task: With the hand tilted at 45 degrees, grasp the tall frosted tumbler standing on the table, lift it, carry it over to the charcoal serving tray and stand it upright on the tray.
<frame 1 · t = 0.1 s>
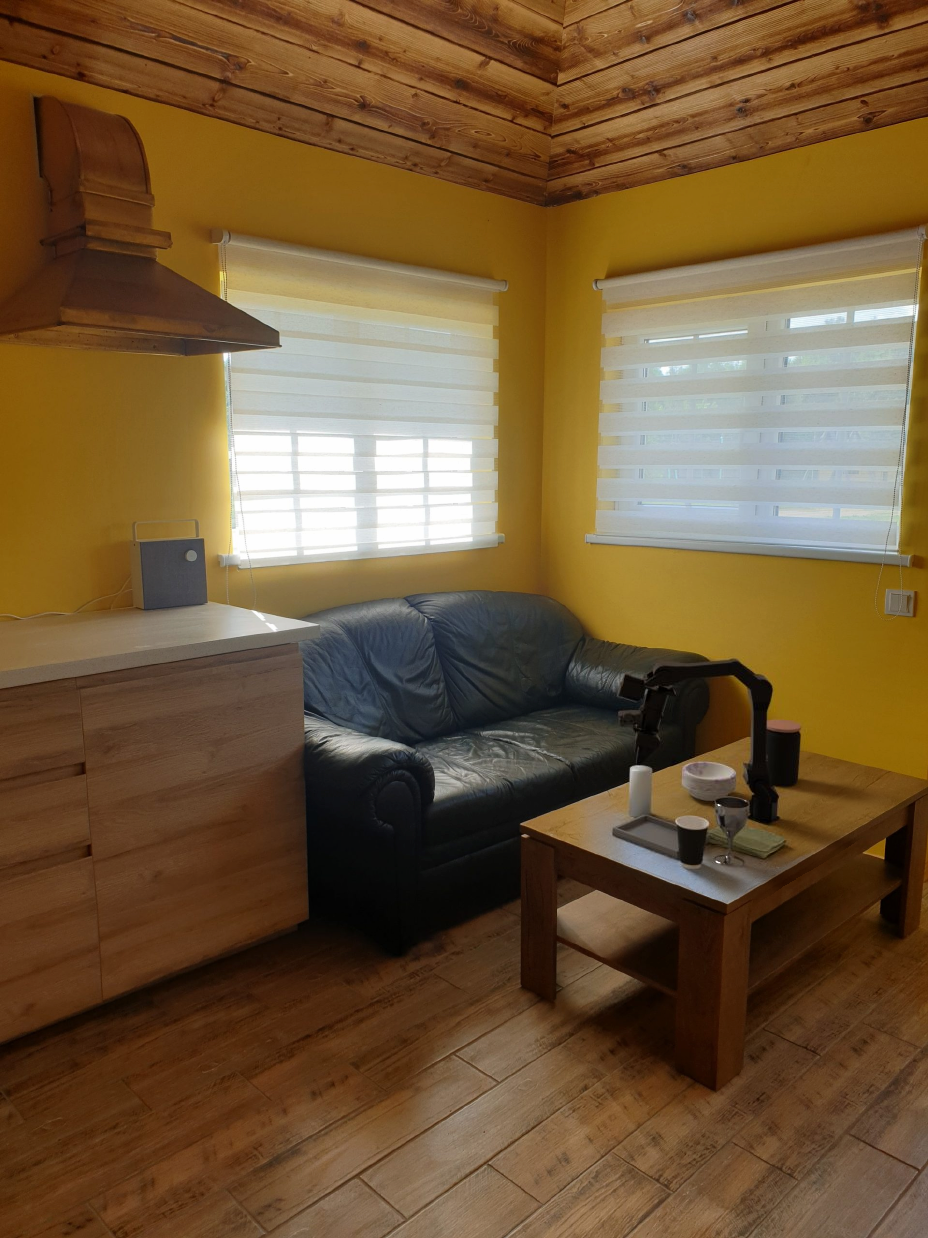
hand: (637, 759, 253), 15 cm above the table, tool pointing down, fingers open, 9 cm apart
paper bowls: (708, 796, 269), on the table
tumbler: (639, 814, 255), on the table
tray: (659, 839, 238), on the table
washcloth: (744, 845, 236), on the table
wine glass: (729, 861, 226), on the table
dixie cup: (690, 865, 224), on the table
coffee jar: (779, 782, 280), on the table
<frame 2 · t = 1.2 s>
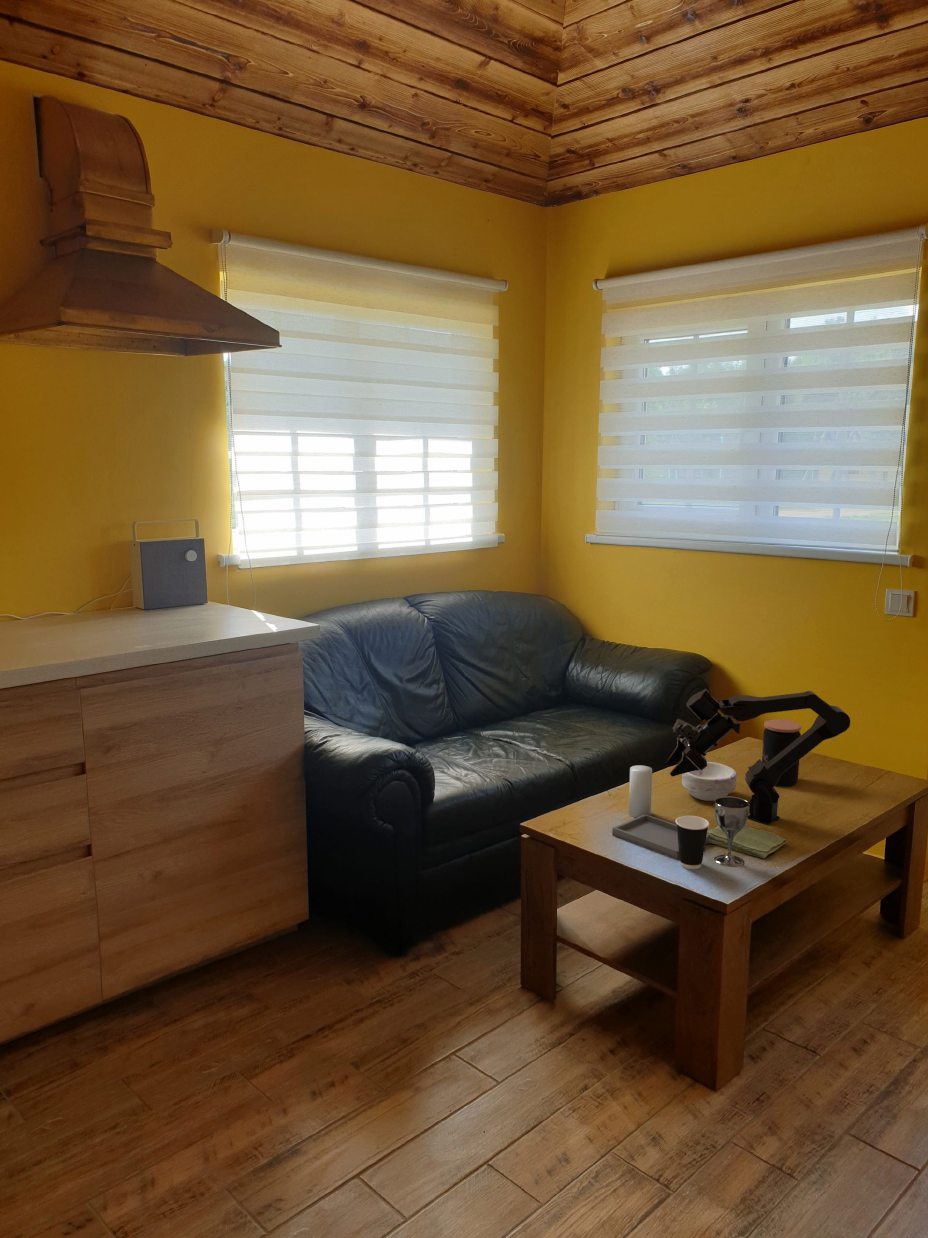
hand: (669, 769, 252), 13 cm above the table, tool tilted 45°, fingers open, 9 cm apart
nothing on the table moved.
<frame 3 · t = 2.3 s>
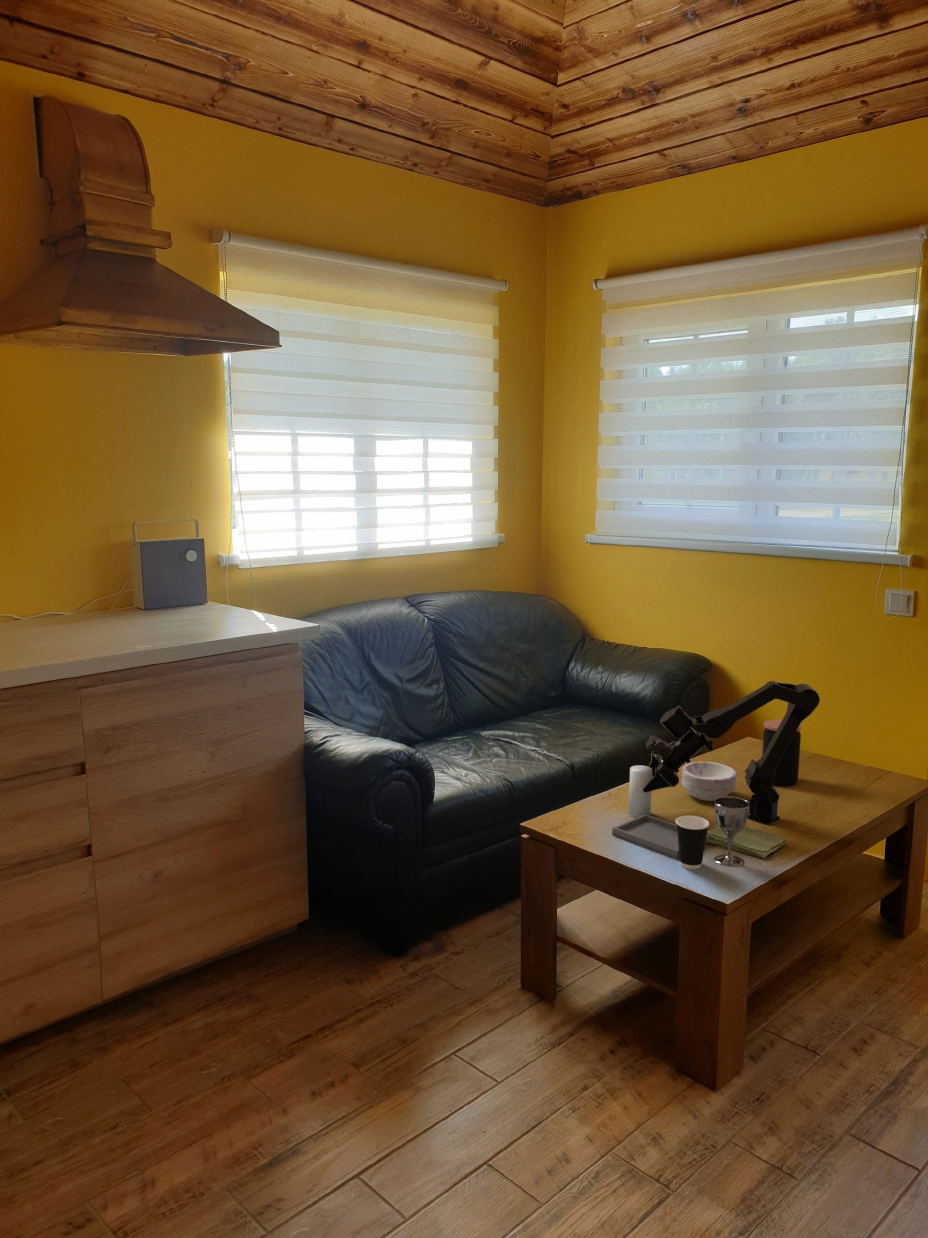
hand: (642, 785, 254), 8 cm above the table, tool tilted 45°, fingers open, 9 cm apart
nothing on the table moved.
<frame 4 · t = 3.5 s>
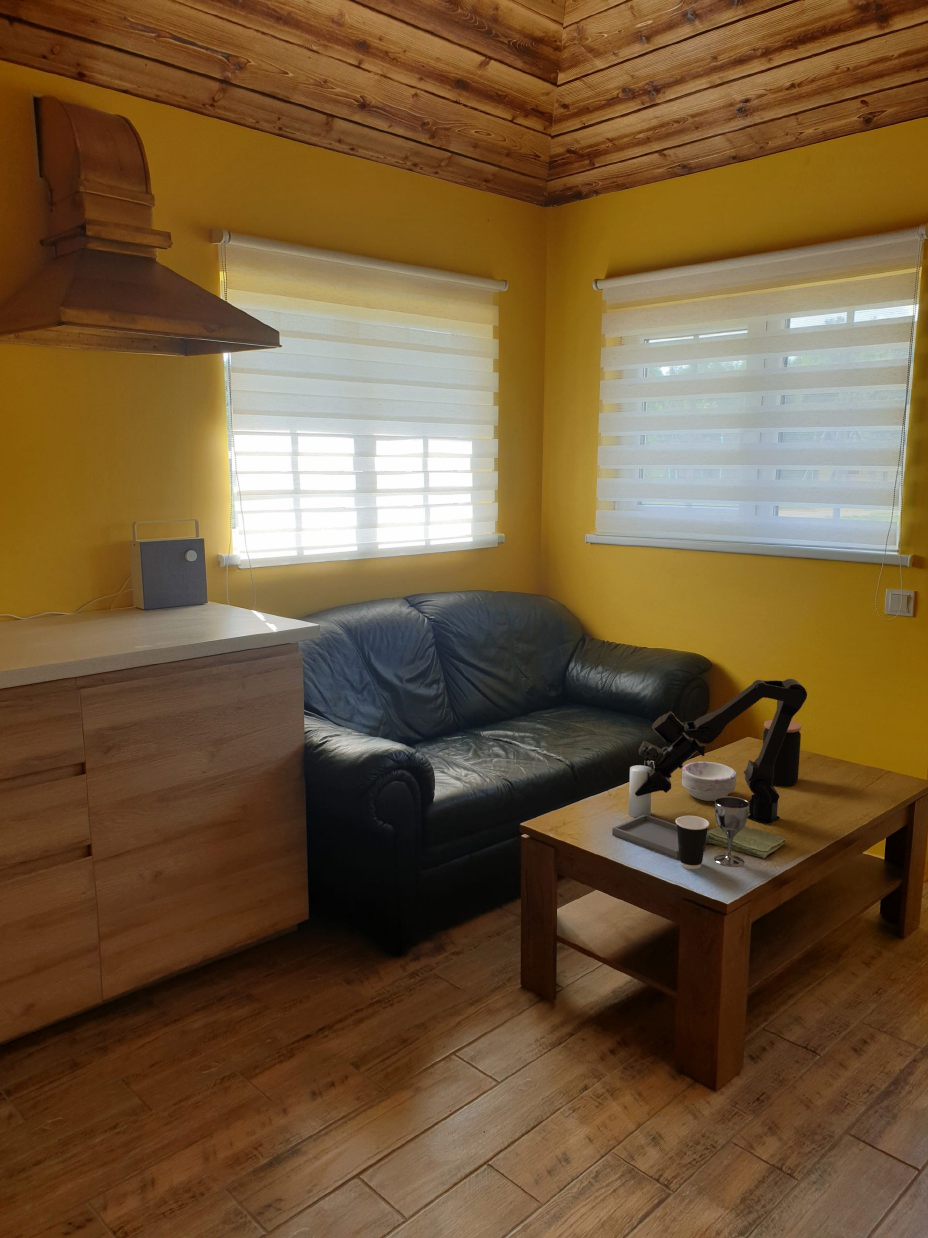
hand: (635, 791, 254), 7 cm above the table, tool tilted 45°, fingers closed on tumbler, 6 cm apart
tumbler: (639, 814, 255), on the table, touching gripper
everything else where it was.
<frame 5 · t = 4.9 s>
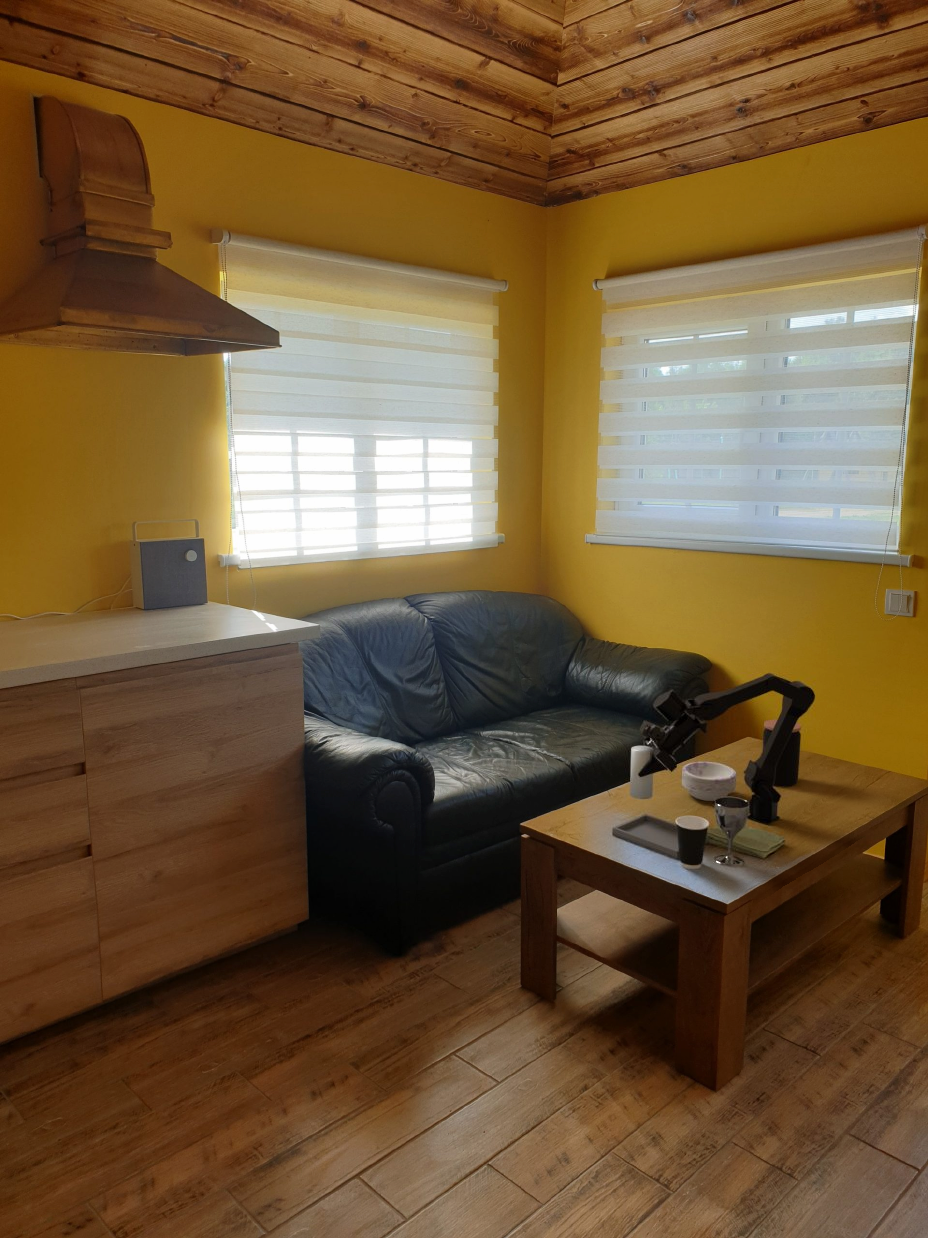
hand: (636, 772, 249), 13 cm above the table, tool tilted 45°, fingers closed on tumbler, 6 cm apart
tumbler: (641, 795, 250), point 7 cm above the table, touching gripper
everything else where it was.
when the fingers open (9 cm above the table, at t = 6.8 s): tumbler drops 1 cm, resting on tray.
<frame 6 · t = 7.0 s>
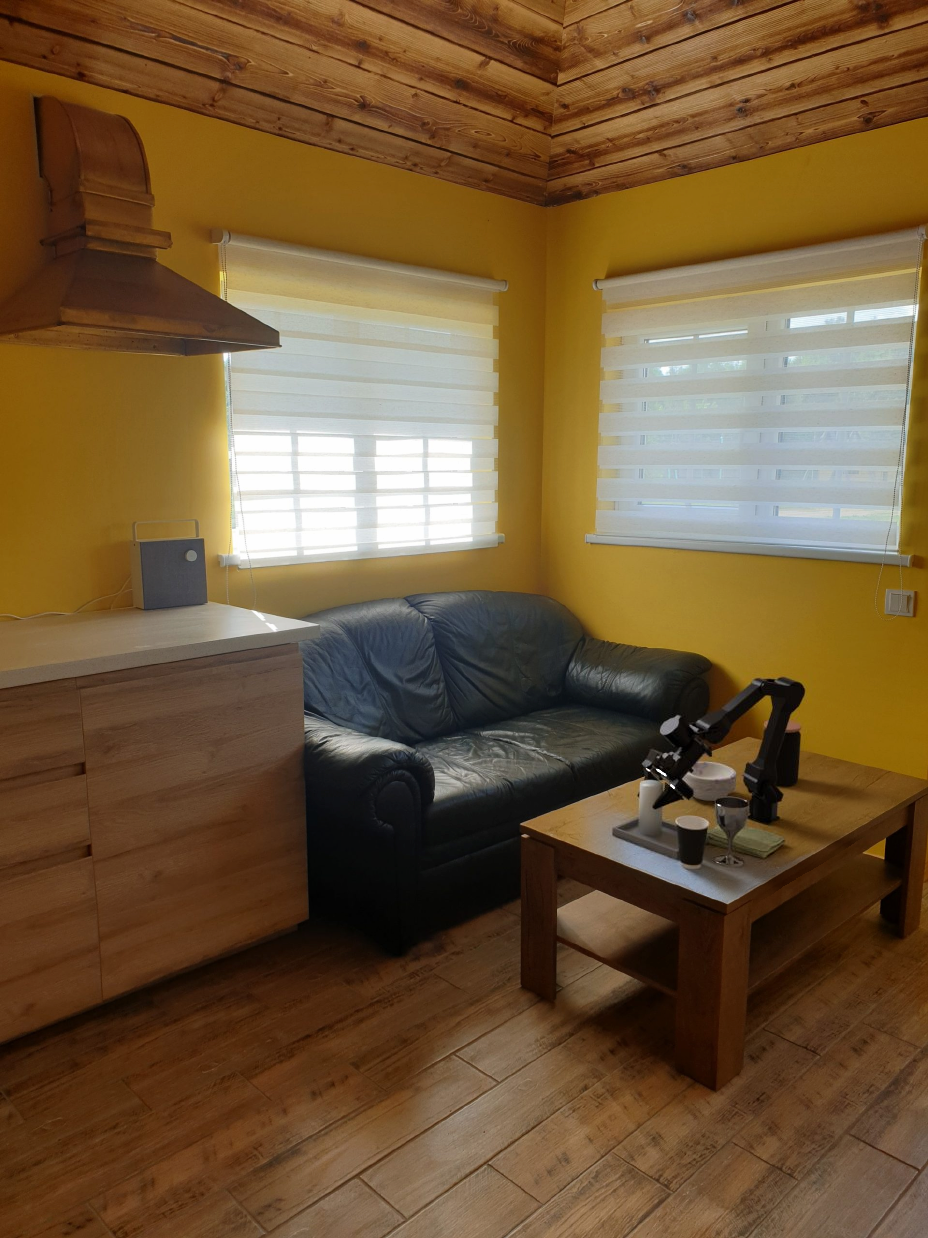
hand: (645, 802, 240), 9 cm above the table, tool tilted 45°, fingers open, 8 cm apart
tumbler: (649, 831, 242), point 1 cm above the table, touching tray
everything else where it was.
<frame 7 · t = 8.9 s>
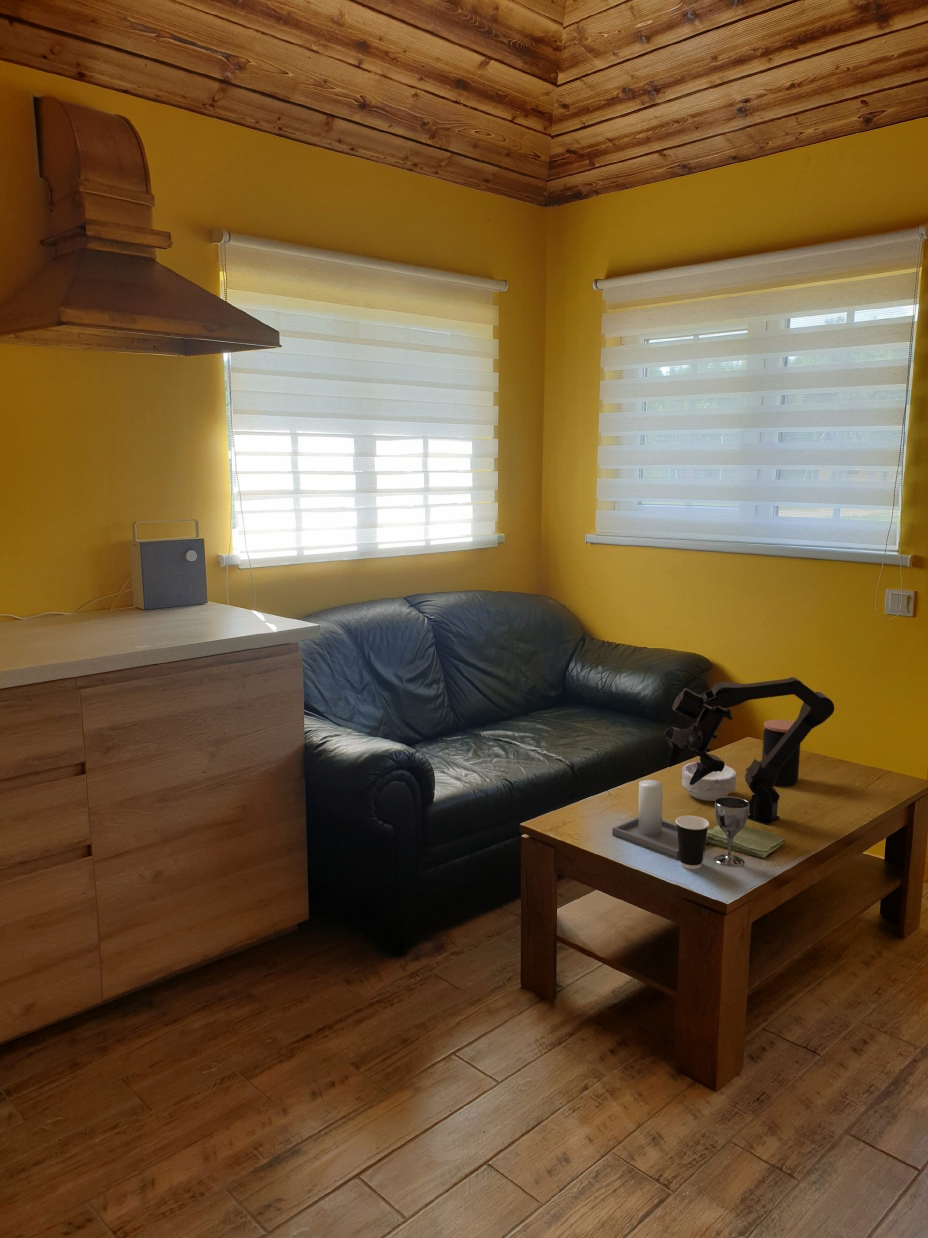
hand: (679, 775, 251), 12 cm above the table, tool tilted 25°, fingers open, 9 cm apart
nothing on the table moved.
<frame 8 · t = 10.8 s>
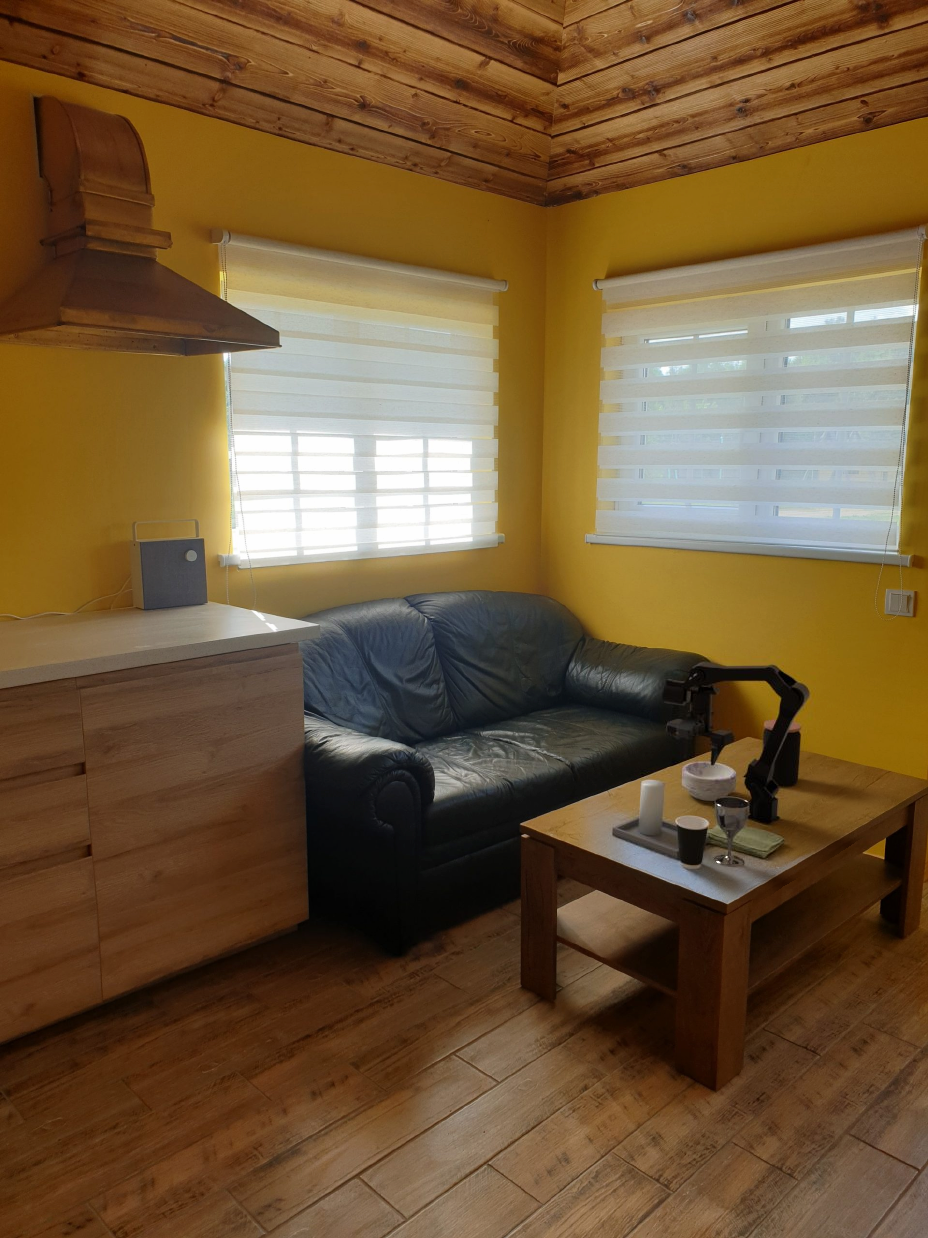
hand: (698, 761, 259), 13 cm above the table, tool pointing down, fingers open, 9 cm apart
nothing on the table moved.
at the end: tumbler inside the target area on the tray (4.1 cm from its centre), point 0.7 cm above the tray's base; tumbler tilted 2°; the gripper is holding nothing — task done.
